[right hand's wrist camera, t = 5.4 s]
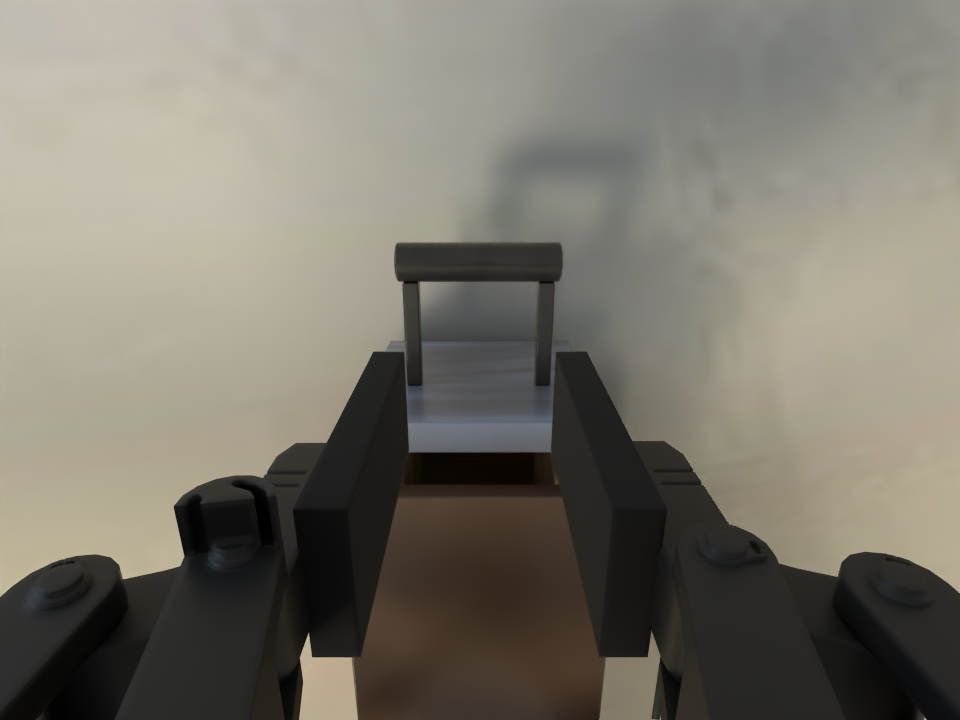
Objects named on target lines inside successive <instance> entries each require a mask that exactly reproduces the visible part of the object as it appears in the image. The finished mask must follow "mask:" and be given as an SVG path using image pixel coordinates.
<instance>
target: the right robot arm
mask: <svg viewBox="0 0 960 720" xmlns="http://www.w3.org/2000/svg"><path fill="white" fill-rule="evenodd" d="M408 452H409V438H408V417H407V397H406V376H405V356H404V352H373V354H372V356H371V358H370V360H369V362H368V364H367V366H366V367H365V369H364V371H363V373H362V375H361V377H360V379H359V381H358V383H357V385H356V387H355V389H354V391H353V393H352V395H351V397H350V399H349V401H348V403H347V404H346V406H345V408H344V410H343V412H342V414H341V416H340V418H339V420H338V422H337V424H336V426H335V428H334V430H333V432H332V434H331V436H330V438H329V440H328V442H327V443H296V444H294V445H293V446H291V447H290V448H288V449H287V450H286V451H284V452H283V453H281V454H280V455H278V456H277V457H276V459H275V460H274V462H273V464H272V465H271V467H270V468H269V470H268V471H267V474H265V476H264V477H263V478H260V477H256V476H231V477H225V478H220V479H216V480H213V481H210V482H208V483H205V484H202V485H200V486H197V487H196V488H194V489H193V490H191V491H189V492H188V493H186V494H185V495H183V496H182V497H181V498H180V500H179V501H178V502H177V503H176V504H175V505H174V510H175V515H176V519H177V524H178V529H179V533H180V538H181V542H182V547H183V552H184V556H185V557H184V559H183V562H182V564H181V566H180V567H176V568H173V569H169V570H165V571H161V572H156V573H152V574H147V575H142V576H138V577H133V578H128V579H123V578H122V574H121V571H120V567H119V565H118V564H117V563H116V562H115V561H114V560H113V559H112V558H111V557H106V556H101V555H96V554H95V555H84V556H75V557H71V558H66V559H64V560H63V559H62V560H59V561H56V562H53V563H51V564H49V565H47V566H45V567H43V568H41V569H39V570H37V571H35V572H32V573H31V574H29V575H28V576H26V577H25V578H24V579H22V580H21V581H19V582H18V583H17V584H15V585H14V586H12V587H11V588H10V589H9V590H8V591H7V592H6V593H4V594H3V595H2V596H1V597H0V720H299V714H300V705H301V696H302V687H303V678H302V670H301V663H300V655H301V653H302V650H303V647H304V644H305V641H306V638H307V635H308V633H309V636H310V643H311V651H312V657H361V654H362V650H363V645H364V641H365V637H366V633H367V628H368V624H369V620H370V615H371V611H372V607H373V602H374V598H375V594H376V590H377V585H378V581H379V577H380V572H381V568H382V564H383V559H384V555H385V551H386V547H387V542H388V538H389V534H390V529H391V525H392V521H393V516H394V512H395V508H396V504H397V499H398V495H399V491H400V486H401V482H402V478H403V473H404V469H405V465H406V461H407V456H408ZM551 452H552V456H553V461H554V465H555V469H556V473H557V478H558V482H559V486H560V491H561V495H562V499H563V504H564V508H565V512H566V516H567V521H568V525H569V529H570V534H571V538H572V542H573V547H574V551H575V555H576V560H577V564H578V568H579V572H580V577H581V581H582V585H583V590H584V594H585V598H586V603H587V607H588V611H589V615H590V620H591V624H592V628H593V633H594V637H595V641H596V646H597V650H598V654H599V657H648V651H649V643H650V636H651V630H652V633H653V635H654V638H655V641H656V644H657V647H658V650H659V652H660V655H661V657H660V663H659V670H658V677H657V684H656V691H655V698H654V705H653V712H652V719H657V720H659V719H660V713H661V720H924V718H926V719H927V720H960V593H958V592H957V591H956V590H955V589H954V588H953V587H952V586H951V585H949V584H948V583H947V582H945V581H944V580H943V579H941V578H940V577H938V576H937V575H935V574H934V573H933V572H931V571H930V570H928V569H926V568H923V567H921V566H919V565H917V564H915V563H913V562H911V561H909V560H906V559H903V558H900V557H895V556H893V555H888V554H883V553H872V552H862V553H857V554H852V555H849V556H848V557H847V558H846V559H845V560H844V561H843V562H842V563H841V567H840V571H839V574H838V577H834V576H830V575H825V574H820V573H815V572H811V571H806V570H801V569H797V568H793V567H789V566H786V565H782V564H779V563H778V561H777V558H776V556H775V555H774V553H773V552H772V551H771V549H770V548H769V546H768V545H767V544H766V543H765V542H763V541H762V540H761V539H759V538H758V537H756V536H755V535H754V534H752V533H750V532H748V531H745V530H743V529H741V528H738V527H736V526H732V525H729V524H728V522H727V521H726V519H725V518H724V516H723V515H722V513H721V512H720V510H719V509H718V507H717V506H716V504H715V502H714V501H713V499H712V498H711V496H710V495H709V493H708V492H707V490H706V489H705V487H704V486H703V485H701V481H700V480H699V478H698V477H697V475H696V473H693V469H692V467H691V466H690V464H689V463H688V461H687V460H686V458H685V457H684V455H683V454H682V453H680V452H679V451H677V450H676V449H675V448H673V447H672V446H670V445H669V444H667V443H666V442H664V441H632V440H631V438H630V436H629V434H628V432H627V430H626V428H625V426H624V424H623V422H622V420H621V418H620V416H619V414H618V412H617V410H616V408H615V406H614V405H613V403H612V401H611V399H610V397H609V395H608V393H607V391H606V389H605V387H604V385H603V383H602V381H601V379H600V377H599V375H598V373H597V371H596V369H595V367H594V366H593V364H592V362H591V360H590V358H589V356H588V354H587V352H556V355H555V376H554V397H553V417H552V438H551Z"/></svg>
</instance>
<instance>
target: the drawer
mask: <svg viewBox="0 0 960 720" xmlns="http://www.w3.org/2000/svg"><path fill="white" fill-rule="evenodd" d="M394 266H395V275H396V278H397V281H399V282H403V284H402V286H403V307H404V328H405V341H390V343H389V345H388V348H387V350H386V352H404V356H405V376H406V397H407V417H408V438H409V452H408V456H407V461H406V465H405V469H404V473H403V478H402V482H401V485H559V482H558V478H557V473H556V469H555V465H554V461H553V456H552V452H551V438H552V417H553V397H554V376H555V355H556V352H572V350H571V348H570V346H569V344H568V341H552V334H553V312H554V290H555V284H554V282H558V281H560V279H561V275H562V266H563V253H562V246H561V244H560V243H558V242H548V243H397V244H396V246H395V254H394ZM420 282H538V283H537V312H536V340H535V341H422V333H421V306H420Z"/></svg>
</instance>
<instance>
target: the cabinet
mask: <svg viewBox="0 0 960 720" xmlns="http://www.w3.org/2000/svg"><path fill="white" fill-rule="evenodd" d="M605 659H606V657H599V654H598V650H597V646H596V641H595V637H594V633H593V628H592V624H591V620H590V615H589V611H588V607H587V603H586V598H585V594H584V590H583V585H582V581H581V577H580V572H579V568H578V564H577V560H576V555H575V551H574V547H573V542H572V538H571V534H570V529H569V525H568V521H567V516H566V512H565V508H564V504H563V499H562V495H561V491H560V486H559V485H401V486H400V491H399V495H398V499H397V504H396V508H395V512H394V516H393V521H392V525H391V529H390V534H389V538H388V542H387V547H386V551H385V555H384V559H383V564H382V568H381V572H380V577H379V581H378V585H377V590H376V594H375V598H374V602H373V607H372V611H371V615H370V620H369V624H368V628H367V633H366V637H365V641H364V645H363V650H362V654H361V657H352V664H353V674H354V684H355V694H356V704H357V713H358V720H599V719H600V709H601V699H602V689H603V679H604V669H605Z"/></svg>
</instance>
